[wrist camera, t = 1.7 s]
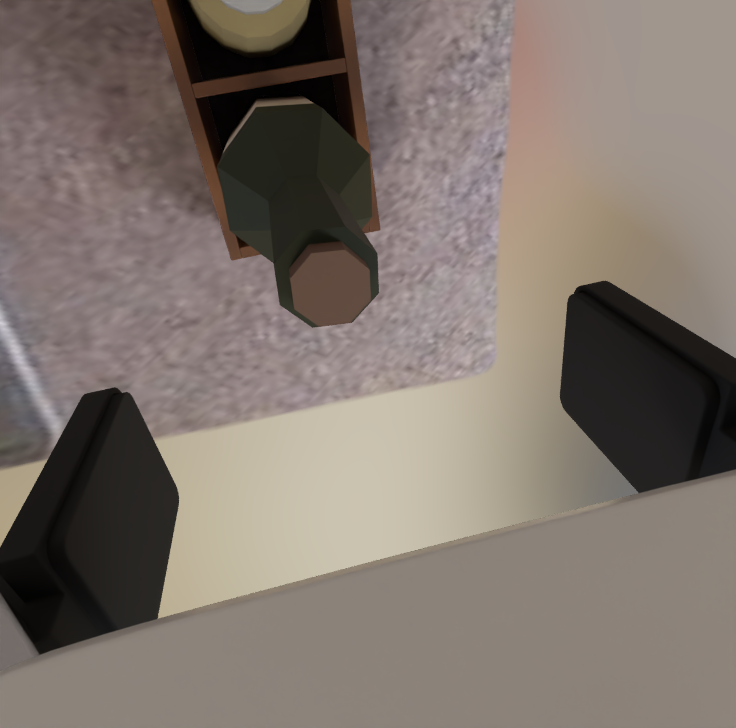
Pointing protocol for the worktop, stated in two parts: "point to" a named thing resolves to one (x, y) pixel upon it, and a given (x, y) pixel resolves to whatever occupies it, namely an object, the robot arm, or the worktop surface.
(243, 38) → the squeeze bottle
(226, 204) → the wine bottle
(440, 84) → the worktop surface
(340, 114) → the bottle rack
